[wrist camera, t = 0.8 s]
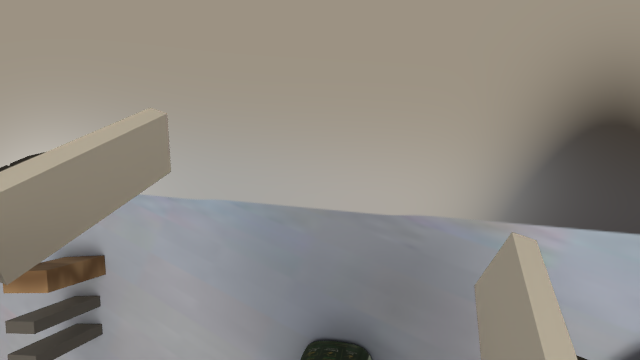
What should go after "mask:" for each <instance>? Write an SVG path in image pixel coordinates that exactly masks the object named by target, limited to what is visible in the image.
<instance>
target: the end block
mask: <svg viewBox="0 0 640 360" xmlns="http://www.w3.org/2000/svg"><path fill="white" fill-rule="evenodd" d="M105 274H106V273H105V259H104V256H80V257H63V258H59V259H55V260H50V261H46V262H42V263H39V264H37V265H36V266H34V267H33V268H31V269H30V270H28V271H27V272H25V273H24V274H23V275H21V276H20V277H18V278H17V279H15V280H14V281H12V282H11V283H10V284H8V285H5V284H3V290H4V293H49V292H52V291H55V290H58V289H61V288H64V287H67V286H71V285H74V284H77V283H80V282H83V281H86V280H89V279H92V278H95V277H99V276H102V275H105Z"/></svg>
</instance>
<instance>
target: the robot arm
mask: <svg viewBox="0 0 640 360" xmlns="http://www.w3.org/2000/svg"><path fill="white" fill-rule="evenodd" d="M170 172H171V164H170V149H169V134H168V118H167V113H164V112H161V111H159V110H156V109H153V108H148V109H146V110H144V111H142V112H139V113H137V114H134V115H132V116H130V117H127V118H125V119H123V120H120V121H118V122H116V123H113V124H111V125H109V126H106V127H104V128H102V129H99V130H97V131H95V132H92V133H90V134H87V135H85V136H83V137H80V138H78V139H76V140H74V141H71V142H69V143H66V144H64V145H62V146H60V147H57V148H55V149H53V150H50V151H48V152H44V153H40V154H35V155H31V156H27V157H25V158H23V159H20V160H18V161H15V162H13V163H11V164H10V166H7V165H6V166H4V167H1V168H0V282H1V283H3V284H5V285H8V284H10V283H11V282H12V281H14V280H15V279H17V278H18V277H20V276H21V275H23V274H24V273H25V272H27V271H28V270H30V269H31V268H33V267H34V266H36V265H37V264H39V263H40V262H41V261H43V260H44V259H46V258H47V257H49V256H50V255H52V254H53V253H54V252H56V251H57V250H59V249H60V248H62V247H63V246H65V245H66V244H67V243H69V242H70V241H72V240H73V239H75V238H76V237H78V236H79V235H80V234H82V233H83V232H85V231H86V230H88V229H89V228H91V227H92V226H93V225H95V224H96V223H98V222H99V221H101V220H102V219H104V218H105V217H107V216H108V215H109V214H111V213H112V212H114V211H115V210H117V209H118V208H120V207H121V206H122V205H124V204H125V203H127V202H128V201H130V200H131V199H133V198H134V197H135V196H137V195H138V194H140V193H141V192H143V191H144V190H146V189H147V188H148V187H150V186H151V185H153V184H154V183H156V182H157V181H159V180H160V179H161V178H163V177H164V176H166V175H167V174H169V173H170ZM475 297H476V308H477V319H478V330H479V341H480V351H481V360H587V359H584V358H582V357H579V356H577V355H576V354H575V351H574V348H573V345H572V342H571V339H570V336H569V333H568V331H567V328H566V325H565V322H564V319H563V316H562V313H561V310H560V307H559V305H558V302H557V299H556V296H555V293H554V290H553V287H552V284H551V282H550V279H549V276H548V273H547V270H546V267H545V264H544V261H543V258H542V256H541V253H540V250H539V247H538V244H537V241H536V240H533V239H530V238H527V237H525V236H522V235H519V234H516V233H513V232H512V233H511V234H510V236H509V237H508V239H507V240H506V242H505V243H504V244H503V246H502V247H501V249H500V250H499V252H498V253H497V254H496V256H495V257H494V259H493V260H492V262H491V263H490V264H489V266H488V267H487V269H486V270H485V272H484V273H483V274H482V276H481V277H480V279H479V280H478V282H477V283H476V284H475Z"/></svg>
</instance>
